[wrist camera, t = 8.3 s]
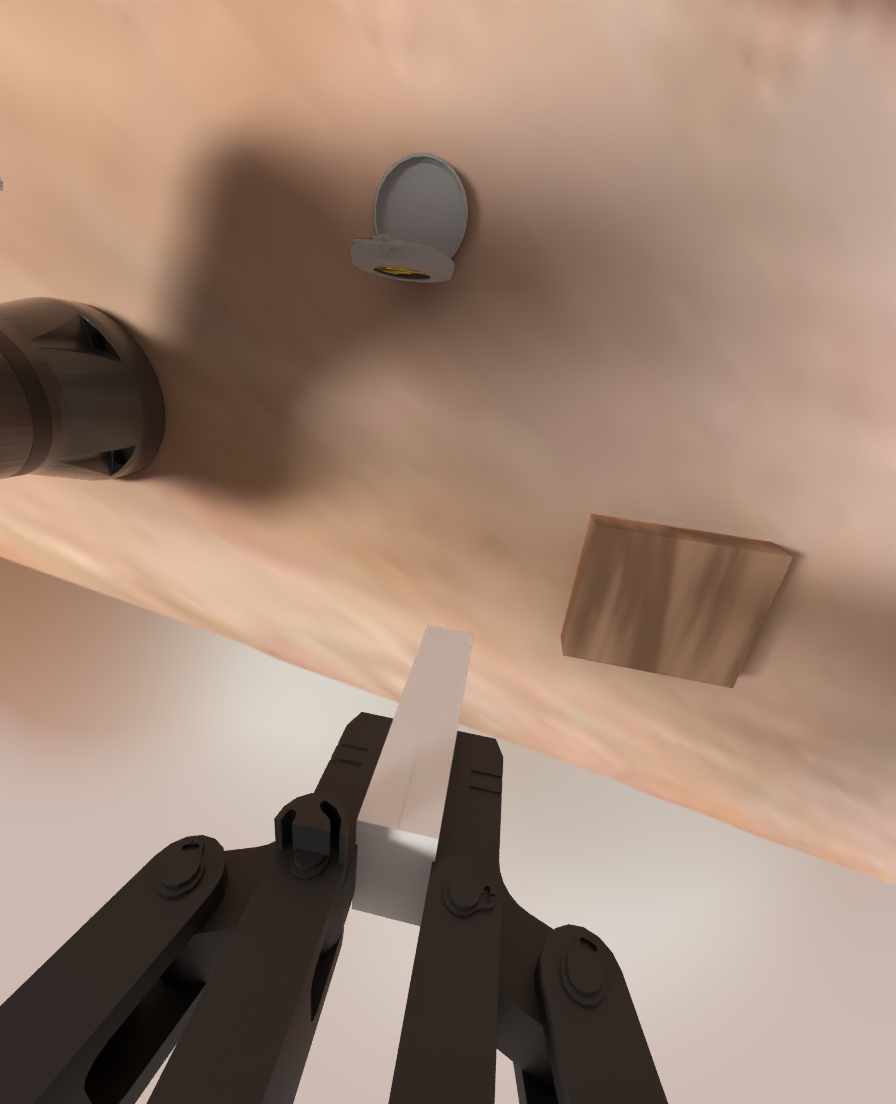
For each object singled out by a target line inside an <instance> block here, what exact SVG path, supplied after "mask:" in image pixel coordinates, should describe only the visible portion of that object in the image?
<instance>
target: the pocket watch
mask: <svg viewBox="0 0 896 1104" xmlns="http://www.w3.org/2000/svg"><path fill="white" fill-rule="evenodd" d="M373 216H374V226H375V231H376V235H375V236H374V237H373V238H372V239H356V240H355V242H356V244H354V245H352V246H351V247H350V257H351V259H352V264H353V265H354V266H355V267H357V268H359V269H360V270H362V271H365V272H367V273H370V274H374V275H377V276H381V277H384V278H389V279H395V280H400V281H408V282H420V283H437V282H446V281H448V280H451V278H452V275H453V273H454V267H455V264H454V262H453V261H452V260H451V258H452V257H453V255H454V254H455V253H456V252H457V250H458V248H459V247H460V245H461V243H462V241H463V238H464V235H465V232H466V228H467V222H468V204H467V197H466V192H465V189H464V187H463V185H462V182H461V180H460V178H459V176H458V175H457V173H456V172H455V170H454V169H453V168H452V167H451V166H450V165H449V164H448V163H447V162H446V161H444V160H443V159H441V158H439V157H437V156H435V155H431V154H425V153H419V154H412V155H409V156H407V157H404V158H402V159H401V160H399V161H398V162H396V163H395V164H394V165H393V166H392V167H391V168H390V169H389V170H388V171H387V172H386V174H385V176H384V177H383V179H382V181H381V183H380V185H379V187H378V189H377V193H376V197H375V200H374V212H373Z"/></svg>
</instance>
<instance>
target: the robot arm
mask: <svg viewBox="0 0 896 1104" xmlns="http://www.w3.org/2000/svg"><path fill="white" fill-rule="evenodd" d="M2 190H3V182H2V180H1V179H0V191H2ZM163 428H164V409H163V402H162V396H161V392H160V389H159V385H158V382H157V379H156V377H155V374H154V372H153V370H152V368H151V366H150V364H149V362H148V360H147V358H146V357H145V355H144V353H143V352H142V350H141V349H140V348H139V346H138V345H137V344H136V342H135V341H134V340H133V339H132V337H131V336H130V335H129V334H128V333H127V332H126V331H125V330H124V329H123V328H122V327H121V326H120V325H119V324H118V323H116V322H115V321H114V320H113V319H111V318H110V317H109V316H107V315H106V314H104V313H102V312H101V311H99V310H97V309H95V308H93V307H90V306H88V305H85V304H82V303H78V302H72V301H67V300H61V299H55V298H47V297H34V298H27V299H22V300H17V301H12V302H7V303H2V304H0V479H4V478H9V477H14V476H20V475H26V474H33V475H42V476H52V477H62V478H72V479H82V480H107V479H112V478H116V477H121V476H125V475H129V474H132V473H134V472H137V471H138V470H140V469H142V468H143V467H144V466H146V465H147V464H148V463H149V462H150V461H151V459H152V458H153V457H154V455H155V453H156V452H157V450H158V447H159V445H160V442H161V439H162V434H163ZM473 637H474V634H471V633H466V632H461V631H456V630H450V629H445V628H440V627H434V626H429V625H427V628H426V631H425V634H424V636H423V639H422V642H421V645H420V647H419V650H418V653H417V656H416V658H415V661H414V664H413V667H412V669H411V672H410V675H409V678H408V680H407V683H406V686H405V689H404V691H403V694H402V697H401V700H400V702H399V705H398V708H397V711H396V713H395V716H394V719H393V718H388V717H384V716H378V715H374V714H369V713H364V712H361V713H360V714H359V715H358V716H357V717H356V718H354V719H353V720H352V721H351V722H350V723H349V724H348V725H347V726H346V728H345V730H344V732H343V734H342V736H341V738H340V741H339V743H338V746H336V749H335V751H334V753H333V755H332V757H331V760H330V761H329V763H328V765H327V767H326V769H325V771H324V773H323V775H322V777H321V779H320V781H319V784H318V785H317V788H316V789H315V792H314V793H310V794H307V795H304V796H301V797H297V798H296V799H294V800H293V801H291V802H290V803H288V804H287V805H285V806H284V807H283V808H282V810H281V811H280V812H279V814H278V815H277V816H276V817H275V819H274V821H275V838H276V841H275V842H273V843H270V844H268V845H264V846H259V847H254V848H246V849H237V850H228V851H224V849H223V847H222V846H221V845H220V844H219V842H218V841H217V840H216V839H214V838H211V837H207V836H204V835H198V836H190V837H185V838H183V839H181V840H178V841H176V842H174V843H171V844H170V845H169V846H167V847H166V848H164V849H163V850H162V851H161V852H159V853H158V854H157V855H155V856H154V857H153V858H152V859H151V860H150V861H149V862H148V863H147V864H146V865H145V866H144V867H143V868H142V869H141V870H140V871H139V872H138V873H137V874H136V875H135V876H134V877H133V878H132V879H131V880H130V881H129V882H128V883H126V885H125V886H123V887H122V889H120V890H119V891H118V892H117V893H116V894H115V895H114V896H113V897H112V898H111V899H110V900H109V901H108V902H107V903H106V904H105V905H104V906H103V907H102V908H101V909H100V910H99V911H98V912H97V913H96V914H95V915H94V916H93V917H91V918H90V919H89V920H88V921H87V923H85V924H84V925H83V926H82V927H81V928H80V929H79V930H78V931H77V932H76V933H75V934H74V935H73V936H72V937H71V938H70V939H69V940H68V941H67V942H66V943H65V944H64V945H63V946H62V947H61V948H60V949H59V950H58V951H57V952H56V953H55V954H53V955H52V956H51V957H50V958H49V959H48V960H47V961H46V962H45V963H44V964H43V965H42V966H41V967H40V968H39V969H38V970H37V971H36V972H35V973H34V974H33V975H32V976H31V977H30V978H29V979H28V980H27V981H26V982H25V983H24V984H23V985H22V986H20V987H19V988H18V989H17V990H16V991H15V992H14V993H13V994H12V995H11V996H10V997H9V998H8V999H7V1000H6V1001H5V1002H4V1003H3V1004H2V1005H1V1006H0V1104H135V1103H136V1101H137V1100H138V1098H139V1097H140V1095H141V1094H142V1093H143V1091H144V1090H145V1088H146V1087H147V1085H148V1084H149V1082H150V1081H151V1079H152V1078H153V1077H154V1075H155V1074H156V1073H157V1071H158V1070H159V1068H160V1066H161V1065H162V1064H163V1062H164V1061H165V1060H166V1058H167V1057H168V1055H169V1054H170V1052H171V1051H172V1050H173V1048H174V1047H175V1045H176V1044H177V1045H176V1047H175V1049H174V1051H173V1053H172V1055H171V1057H170V1058H169V1060H168V1062H167V1064H166V1066H165V1069H164V1070H163V1072H162V1074H161V1076H160V1079H159V1080H158V1082H157V1084H156V1086H155V1088H154V1090H153V1092H152V1094H151V1096H150V1098H149V1100H148V1102H147V1104H293V1102H294V1099H295V1096H296V1092H297V1089H298V1086H299V1083H300V1079H301V1076H302V1073H303V1069H304V1066H305V1063H306V1060H307V1057H308V1053H309V1050H310V1047H311V1044H312V1040H313V1037H314V1034H315V1030H316V1027H317V1024H318V1021H319V1017H320V1014H321V1011H322V1008H323V1005H324V1001H325V998H326V995H327V991H328V988H329V985H330V982H331V978H332V975H333V972H334V969H335V966H336V962H337V959H338V956H339V952H340V949H341V946H342V940H343V933H344V924H345V921H346V918H347V914H348V911H349V908H350V905H351V901H352V909H355V910H359V911H363V912H367V913H371V914H375V915H379V916H383V917H386V918H390V919H394V920H399V921H402V922H406V923H410V924H414V925H418V926H420V932H419V937H418V943H417V948H416V954H415V960H414V965H413V971H412V976H411V982H410V987H409V993H408V998H407V1004H406V1010H405V1015H404V1021H403V1027H402V1032H401V1037H400V1043H399V1048H398V1054H397V1060H396V1065H395V1070H394V1076H393V1082H392V1087H391V1092H390V1098H389V1104H494V1102H495V1073H496V1048H497V1049H498V1050H499V1051H501V1052H502V1053H503V1054H504V1055H506V1056H507V1057H508V1058H509V1059H510V1060H512V1061H513V1064H514V1070H515V1077H516V1084H517V1090H518V1097H519V1104H668V1102H667V1099H666V1096H665V1093H664V1090H663V1088H662V1085H661V1082H660V1079H659V1076H658V1073H657V1070H656V1068H655V1065H654V1062H653V1059H652V1056H651V1053H650V1051H649V1048H648V1045H647V1042H646V1039H645V1036H644V1033H643V1030H642V1028H641V1025H640V1022H639V1019H638V1016H637V1013H636V1010H635V1008H634V1005H633V1002H632V999H631V996H630V993H629V991H628V987H627V985H626V982H625V979H624V976H623V973H622V971H621V969H620V967H619V965H618V963H617V961H616V959H615V957H614V955H613V953H612V952H611V950H610V949H609V948H608V947H607V946H606V945H605V944H604V942H603V941H602V940H601V939H600V938H599V937H598V936H596V935H595V934H593V933H592V932H590V931H589V930H587V929H586V928H584V927H580V926H575V925H569V924H568V925H565V926H561V927H558V928H555V929H552V928H551V927H549V926H547V925H546V924H544V923H543V922H541V921H540V920H538V919H537V918H535V917H534V916H532V915H530V914H529V913H528V912H527V911H525V910H524V909H523V908H522V907H520V906H519V905H518V904H517V903H516V901H515V900H514V899H513V898H512V896H511V895H510V894H509V892H508V890H507V888H506V886H505V885H504V883H503V880H502V876H501V873H500V866H499V847H500V823H501V799H502V797H501V794H502V775H503V774H502V773H503V755H502V753H501V751H500V748H499V746H498V743H497V741H496V739H494V738H489V737H484V736H480V735H475V734H470V733H465V732H460V731H457V729H458V724H459V718H460V712H461V706H462V700H463V695H464V689H465V683H466V677H467V672H468V666H469V660H470V654H471V648H472V643H473Z"/></svg>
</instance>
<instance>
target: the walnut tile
mask: <svg viewBox="0 0 896 1104" xmlns="http://www.w3.org/2000/svg"><path fill="white" fill-rule="evenodd" d="M792 559H793V556H791V555H790V554H788V553H787V552H785V551H784V550H782V549H781V548H779V547H778V546H776V545H775V544H773V543H772V542H768V541H762V540H755V539H749V538H742V537H736V536H730V535H723V534H717V533H710V532H704V531H698V530H691V529H685V528H678V527H672V526H666V525H659V524H653V523H646V522H640V521H633V520H627V519H621V518H614V517H608V516H601V515H595V514H591V517H590V521H589V525H588V529H587V533H586V537H585V541H584V545H583V549H582V553H581V557H580V561H579V565H578V569H577V573H576V577H575V581H574V585H573V589H572V593H571V597H570V601H569V605H568V609H567V613H566V617H565V621H564V625H563V629H562V633H561V642H562V650H563V655H564V656H570V657H575V658H580V659H585V660H590V661H595V662H601V663H606V664H611V665H616V666H621V667H626V668H632V669H637V670H642V671H647V672H652V673H657V674H662V675H668V676H673V677H678V678H683V679H688V680H693V681H699V682H704V683H709V684H714V685H719V686H724V687H730V688H733V687H734V685H735V682H736V680H737V678H738V676H739V674H740V672H741V669H742V667H743V665H744V663H745V661H746V659H747V656H748V654H749V652H750V650H751V648H752V646H753V643H754V641H755V639H756V637H757V635H758V633H759V630H760V628H761V626H762V624H763V622H764V620H765V617H766V615H767V613H768V611H769V609H770V607H771V604H772V602H773V600H774V598H775V596H776V594H777V591H778V589H779V587H780V585H781V583H782V581H783V578H784V576H785V574H786V572H787V570H788V568H789V565H790V563H791V561H792Z"/></svg>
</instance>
